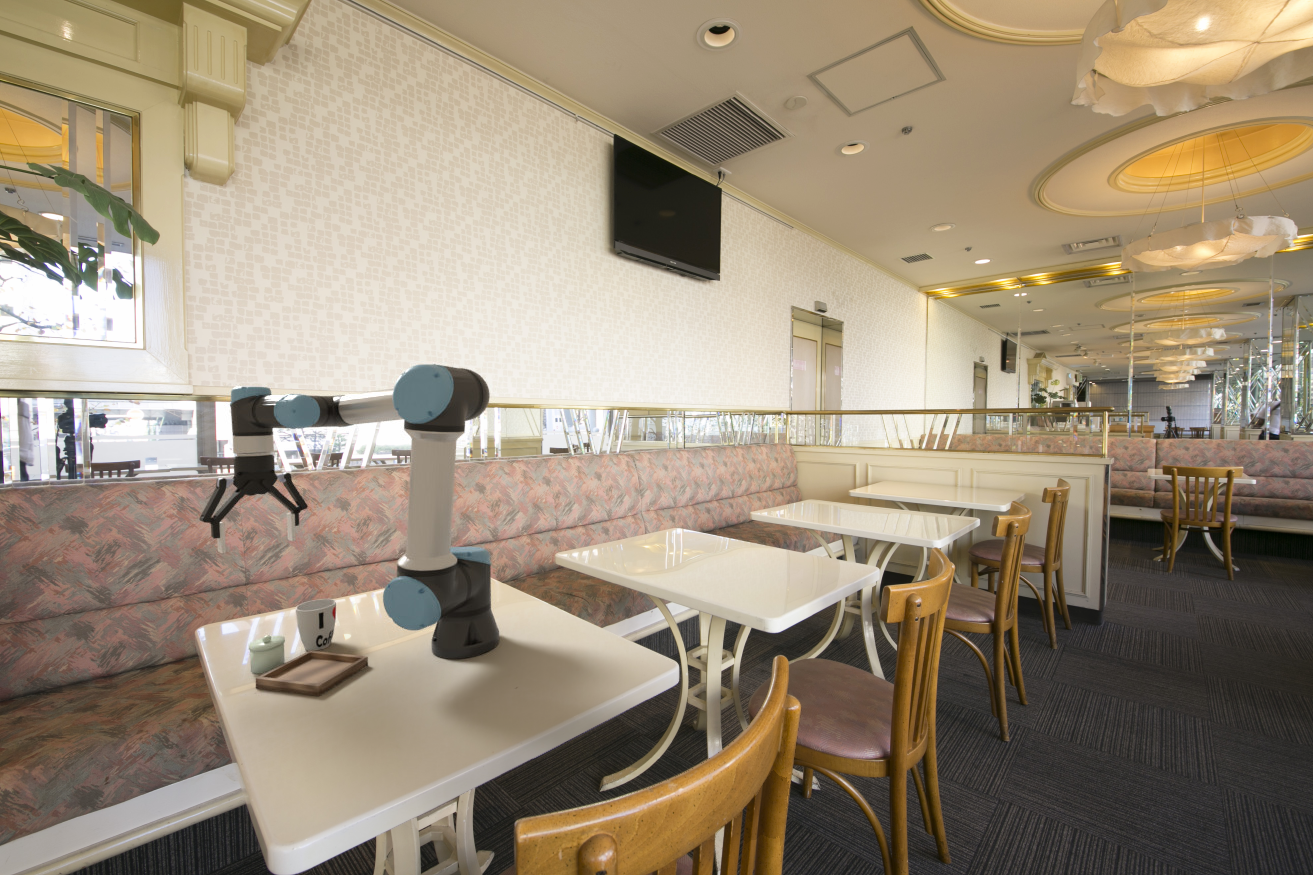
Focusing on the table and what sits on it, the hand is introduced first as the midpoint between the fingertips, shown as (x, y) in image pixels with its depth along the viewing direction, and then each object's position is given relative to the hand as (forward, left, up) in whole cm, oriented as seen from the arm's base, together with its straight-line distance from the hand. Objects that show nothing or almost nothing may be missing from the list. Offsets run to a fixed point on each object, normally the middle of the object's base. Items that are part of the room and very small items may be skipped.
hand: (258, 546), depth 126 cm
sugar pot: (-9, +7, -24) cm, 27 cm away
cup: (-11, -4, -25) cm, 27 cm away
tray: (-23, +8, -24) cm, 34 cm away
